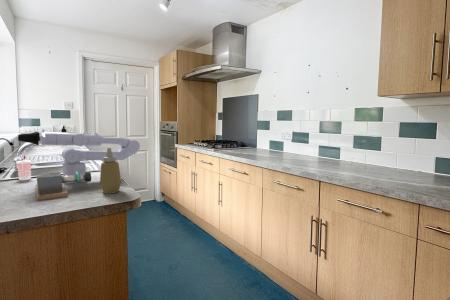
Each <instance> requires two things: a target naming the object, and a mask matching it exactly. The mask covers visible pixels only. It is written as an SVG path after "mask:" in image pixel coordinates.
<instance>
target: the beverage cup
mask: <svg viewBox="0 0 450 300" xmlns="http://www.w3.org/2000/svg"><path fill="white" fill-rule="evenodd" d="M24 153H25V152H24V150H22V151H21V154H22V160H17V161H15V164H16V168H17V174H18V180H19V181H27V180H31V179H32V175H31V174H32V171H31V170H32V169H31V168H32V165H31V164H32V160H30V159H29V160H27V159H26V160H25V156H24V155H25V154H24Z"/></svg>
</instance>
